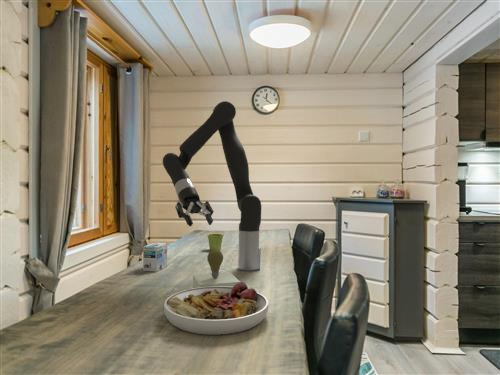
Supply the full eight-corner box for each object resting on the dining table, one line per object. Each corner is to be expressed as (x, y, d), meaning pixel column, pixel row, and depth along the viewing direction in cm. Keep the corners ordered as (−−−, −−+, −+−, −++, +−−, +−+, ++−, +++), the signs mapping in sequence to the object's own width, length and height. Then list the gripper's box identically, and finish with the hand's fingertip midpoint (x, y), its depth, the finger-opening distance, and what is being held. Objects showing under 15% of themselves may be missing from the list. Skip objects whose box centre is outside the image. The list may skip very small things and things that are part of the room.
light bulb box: (157, 272, 158) (157, 247, 157) (142, 271, 159) (142, 246, 159) (167, 266, 168) (167, 242, 168) (153, 265, 169) (154, 242, 169)
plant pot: (226, 250, 209) (227, 234, 209) (216, 252, 201) (216, 236, 201) (213, 248, 214) (214, 233, 214) (203, 250, 206) (203, 235, 206)
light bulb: (207, 275, 133) (207, 248, 133) (222, 275, 134) (223, 248, 134) (206, 280, 128) (207, 251, 128) (223, 280, 128) (223, 251, 128)
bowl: (228, 351, 87) (229, 317, 87) (140, 323, 103) (141, 294, 103) (286, 313, 112) (286, 287, 112) (208, 295, 128) (208, 272, 128)
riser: (229, 285, 140) (229, 271, 140) (240, 296, 127) (240, 281, 127) (192, 287, 136) (192, 274, 135) (199, 299, 122) (199, 284, 122)
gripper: (173, 186, 141) (188, 219, 132) (205, 186, 150) (221, 216, 141) (167, 199, 145) (180, 232, 137) (198, 198, 154) (213, 229, 145)
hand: (201, 224), depth 139 cm, fingers open, 8 cm apart
